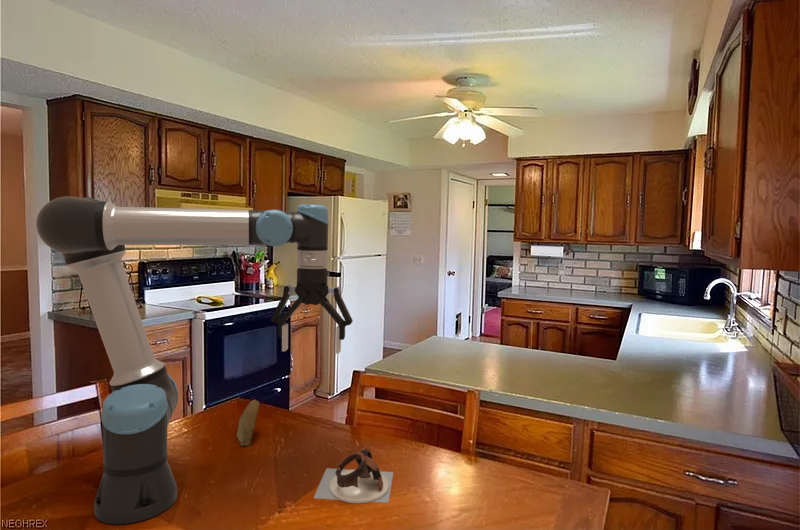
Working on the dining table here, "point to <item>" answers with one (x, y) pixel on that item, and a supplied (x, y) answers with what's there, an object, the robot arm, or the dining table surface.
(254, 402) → the rock
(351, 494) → the cream round plate
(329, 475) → the felt placemat
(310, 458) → the dining table surface
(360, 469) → the broken terracotta ring
